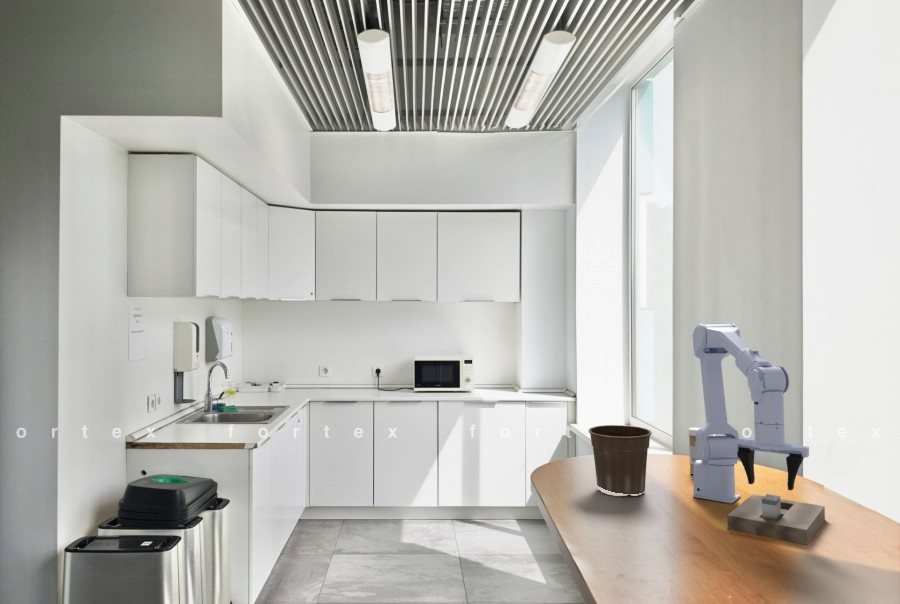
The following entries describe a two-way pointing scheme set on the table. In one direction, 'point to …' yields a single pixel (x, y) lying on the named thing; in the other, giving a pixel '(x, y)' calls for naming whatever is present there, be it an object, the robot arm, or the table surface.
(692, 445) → the sprinkles bottle
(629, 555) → the table surface
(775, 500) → the brushed metal block
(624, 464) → the plant pot
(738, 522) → the post foot
